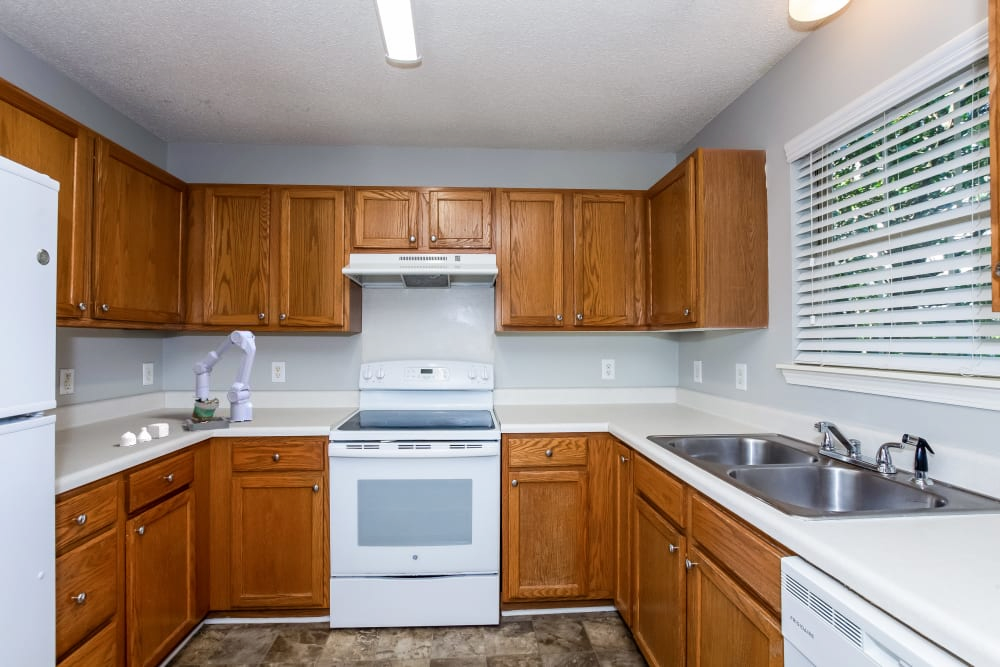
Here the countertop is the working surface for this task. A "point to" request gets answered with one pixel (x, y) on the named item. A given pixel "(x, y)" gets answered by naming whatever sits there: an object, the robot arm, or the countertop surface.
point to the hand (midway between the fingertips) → (202, 414)
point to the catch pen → (208, 425)
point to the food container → (204, 410)
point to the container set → (145, 434)
